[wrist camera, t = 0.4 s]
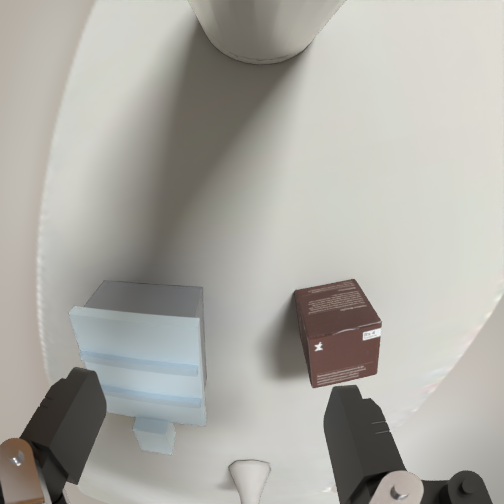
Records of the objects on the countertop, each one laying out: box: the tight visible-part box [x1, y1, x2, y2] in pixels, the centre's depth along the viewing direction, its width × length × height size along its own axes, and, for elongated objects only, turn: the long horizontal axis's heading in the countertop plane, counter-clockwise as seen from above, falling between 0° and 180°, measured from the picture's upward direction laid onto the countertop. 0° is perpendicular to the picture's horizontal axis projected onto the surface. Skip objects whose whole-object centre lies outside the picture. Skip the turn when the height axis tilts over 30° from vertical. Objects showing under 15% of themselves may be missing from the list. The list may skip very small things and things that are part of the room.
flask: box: [229, 460, 271, 504], centre depth 38 cm, size 7×7×10 cm
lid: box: [69, 306, 207, 455], centre depth 25 cm, size 17×11×3 cm, turn 177°
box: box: [295, 279, 382, 388], centre depth 26 cm, size 6×6×7 cm
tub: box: [84, 281, 207, 392], centre depth 28 cm, size 12×10×6 cm
